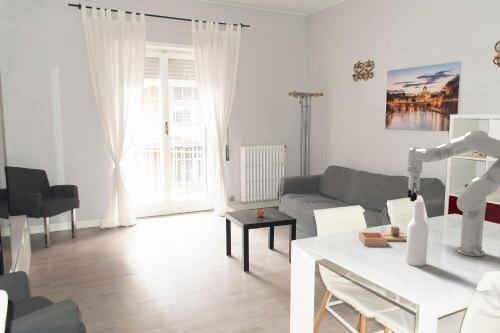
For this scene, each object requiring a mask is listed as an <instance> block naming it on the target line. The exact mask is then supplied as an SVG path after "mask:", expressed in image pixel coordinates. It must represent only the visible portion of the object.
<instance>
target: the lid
mask: <svg viewBox="0 0 500 333" xmlns="http://www.w3.org/2000/svg"><path fill="white" fill-rule="evenodd" d="M400 230H401V229H400V227H398V226H391V227H390V232H381V233H382V234H383V235H384V236H385V237H386V238H387V241H388V242H387V243H407V234H405V233H404V232H400Z"/></svg>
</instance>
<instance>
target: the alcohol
mask: <svg viewBox="0 0 500 333" xmlns="http://www.w3.org/2000/svg"><path fill="white" fill-rule="evenodd" d="M424 203H425V201H424V200H421V199H417V200H415V202H414V208H413V213H412V214H413V215H412V219H411V220H410V221H409V222H408V225H407V233H406V236H407V242H406V253H405V254H406V255H405V261H406V263H407V264H408V265H410V266H413V267H425V265H426V264H427V253H428V236H429V226H428V223H427V222H426V221H425V219H424V218H425V212H424V205H425V204H424Z"/></svg>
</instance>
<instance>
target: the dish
mask: <svg viewBox="0 0 500 333" xmlns="http://www.w3.org/2000/svg"><path fill="white" fill-rule="evenodd" d="M382 233H383V232H377V231H376V232H372V231H369V232H368V231H367V232H366V231H360V232H358V240H359V241H360V242H361V244H362V245H363V246H364V247H366V246H367V247H368V246H369V247H374V246H375V247H388V242H387V238H386V237H385V236H384V235H383V234H382Z"/></svg>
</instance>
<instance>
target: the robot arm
mask: <svg viewBox="0 0 500 333" xmlns="http://www.w3.org/2000/svg"><path fill="white" fill-rule="evenodd" d="M472 151H475V152H477V153H480V154H483V155H485V156H487V157H489V158H493V159H496V160H495V161H494V162H493V164H491V165H490V167H489V168H488V169H487V171H486V172H485V173H484V174H482V175H479V176H477V177H475V178H473V179H472V180H471V181H470V182H469V184H467V185H466V187H465V188H464V189H463V190H462V192H461V193H460V194H459V196H458V197H457V200H456V206H457V209H459V211H461V212H462V217H461V231H460V244H459V245H460V246H458V247H456V252H458V253H460V254H462V255H466V256H468V257H469V256H470V257H483V256H485V255H486V251H484V250H483V249H482V248H483V247H482V246H483V235H484V223H485V213H486V209H487V197H488V196H489V195H492V194H495V193H496V192H497V191H498V189H499V188H500V139H496V138H494V137H491V136H489V134H488V133H487V132H486V131H483V130H471V131H468V132H467V133H465V134H464V135H461V136H457V137H455V138H452V139H451V140H450V141H448V142H447V143H445V144H441V145H439V146H436V147H430V148H422V147H416V146H414V147H409V149H408V159H407V169H406V170H407V173H408V183H407V184H408V185H407V187H408V191H407V198H409V201H410V202H414V203H415V200H418V192H419V191H420V188H421V174H422V173H423V163H433V162H439V161H442V160H446V159H449V158H451V157H454V156H459V155H462V154H465V153H468V152H472Z"/></svg>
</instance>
